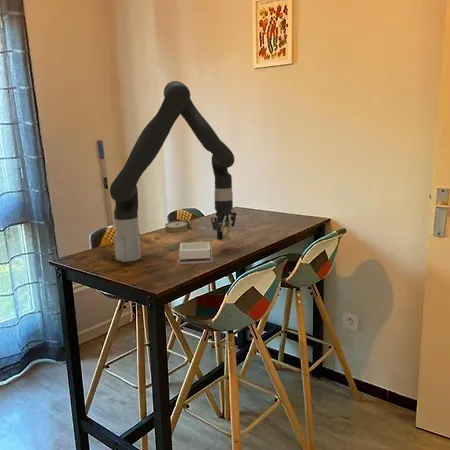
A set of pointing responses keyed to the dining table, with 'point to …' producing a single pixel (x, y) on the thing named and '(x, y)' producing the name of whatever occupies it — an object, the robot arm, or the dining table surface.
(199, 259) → the track
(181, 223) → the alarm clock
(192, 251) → the shallow white tray
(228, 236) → the block
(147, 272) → the dining table surface
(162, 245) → the dining table surface
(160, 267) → the dining table surface
